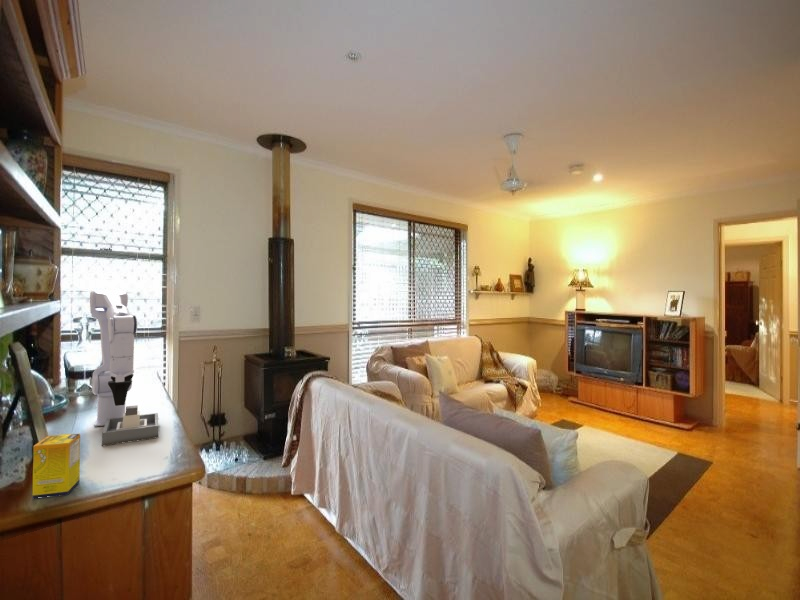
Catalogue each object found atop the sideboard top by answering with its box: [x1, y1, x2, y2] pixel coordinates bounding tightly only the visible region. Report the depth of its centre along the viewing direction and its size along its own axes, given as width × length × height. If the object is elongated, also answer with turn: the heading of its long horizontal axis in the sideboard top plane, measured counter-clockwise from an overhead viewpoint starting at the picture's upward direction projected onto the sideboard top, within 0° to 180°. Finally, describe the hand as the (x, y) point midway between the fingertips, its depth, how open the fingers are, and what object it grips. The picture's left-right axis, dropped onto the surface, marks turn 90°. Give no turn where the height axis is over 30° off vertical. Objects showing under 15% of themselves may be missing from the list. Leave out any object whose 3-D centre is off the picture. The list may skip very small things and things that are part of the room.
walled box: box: [101, 412, 160, 447], centre depth 115 cm, size 14×13×4 cm
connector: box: [123, 405, 141, 428], centre depth 114 cm, size 4×4×7 cm
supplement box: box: [32, 432, 81, 499], centre depth 81 cm, size 6×6×11 cm
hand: (120, 401), depth 115 cm, fingers open, 7 cm apart
